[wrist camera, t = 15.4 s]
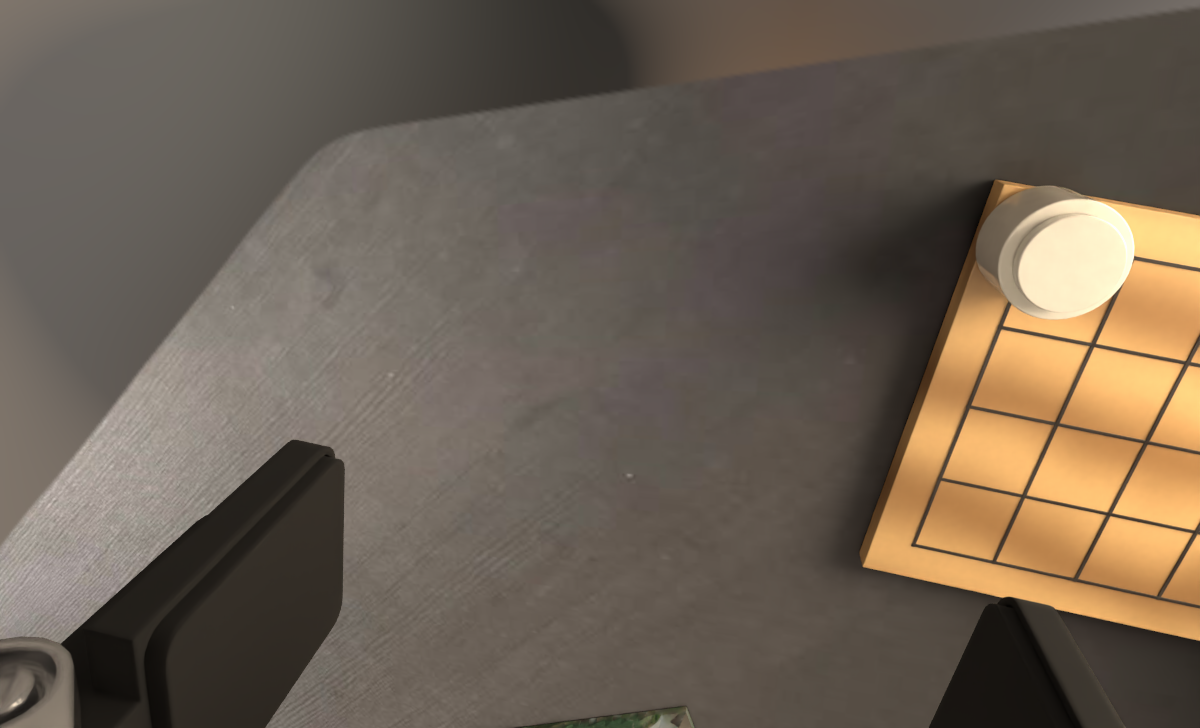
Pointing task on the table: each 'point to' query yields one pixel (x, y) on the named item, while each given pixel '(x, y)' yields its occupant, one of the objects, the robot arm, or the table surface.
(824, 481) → the table surface
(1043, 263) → the tan tin with lid
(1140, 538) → the board
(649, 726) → the model
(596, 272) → the table surface
